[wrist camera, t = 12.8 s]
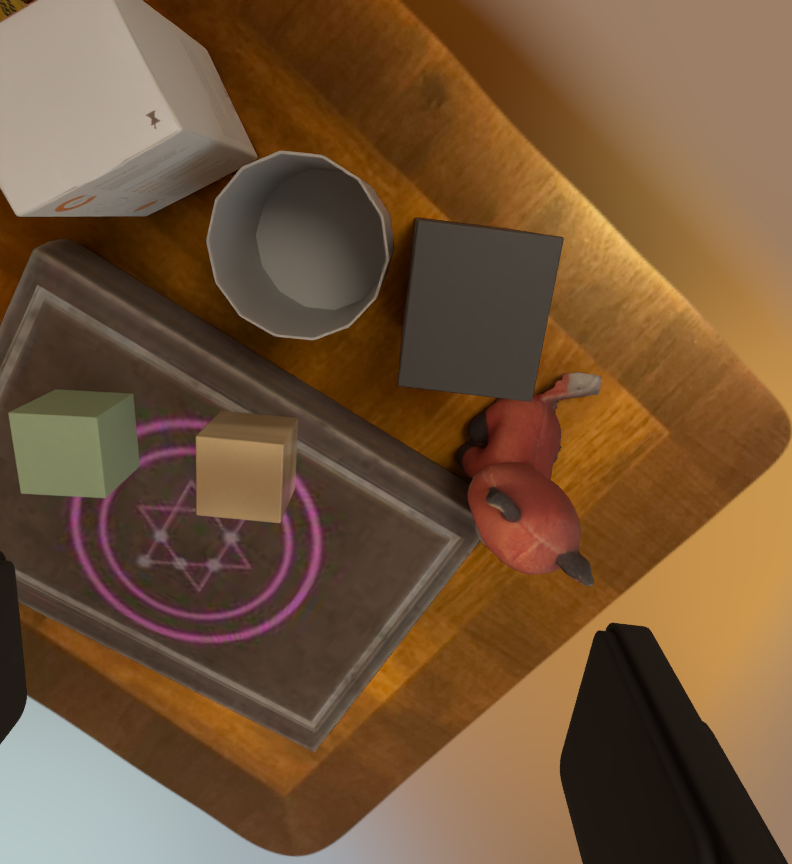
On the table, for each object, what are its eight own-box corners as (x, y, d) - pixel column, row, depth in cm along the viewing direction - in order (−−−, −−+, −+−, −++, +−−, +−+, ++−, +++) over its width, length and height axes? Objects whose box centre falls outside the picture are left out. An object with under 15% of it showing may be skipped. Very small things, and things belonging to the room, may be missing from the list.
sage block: (55, 389, 37) (7, 412, 32) (133, 393, 37) (96, 417, 32) (64, 462, 38) (20, 494, 34) (140, 466, 38) (105, 498, 34)
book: (-43, 510, 45) (-96, 545, 40) (81, 236, 39) (36, 239, 34) (323, 702, 50) (314, 753, 45) (487, 487, 44) (497, 520, 39)
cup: (419, 217, 38) (423, 219, 28) (352, 334, 40) (333, 371, 31) (296, 138, 37) (256, 112, 27) (233, 263, 39) (176, 279, 30)
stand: (415, 217, 38) (417, 219, 25) (510, 229, 38) (564, 237, 25) (401, 329, 40) (397, 386, 27) (491, 340, 40) (531, 402, 27)
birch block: (220, 409, 37) (195, 435, 33) (298, 417, 37) (283, 444, 33) (220, 481, 38) (195, 515, 34) (295, 489, 38) (280, 523, 34)
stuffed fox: (626, 393, 41) (709, 462, 30) (521, 521, 44) (559, 626, 33) (535, 329, 40) (584, 375, 29) (433, 465, 43) (441, 555, 32)
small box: (207, 46, 35) (97, -43, 23) (261, 159, 37) (186, 132, 25) (86, 113, 36) (-80, 63, 24) (144, 219, 38) (17, 222, 26)
